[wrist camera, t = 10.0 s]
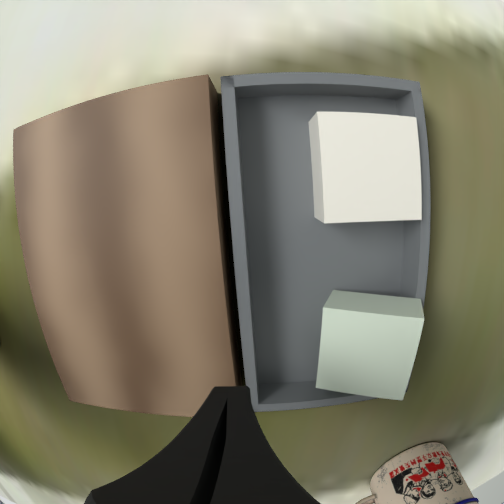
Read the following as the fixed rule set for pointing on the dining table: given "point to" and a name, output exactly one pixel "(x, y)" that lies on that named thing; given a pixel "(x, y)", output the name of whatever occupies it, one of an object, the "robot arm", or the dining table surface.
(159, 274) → the walnut plate
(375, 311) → the sage tile
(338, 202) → the cream tile
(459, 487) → the teacup with lid
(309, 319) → the box
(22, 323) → the dining table surface
